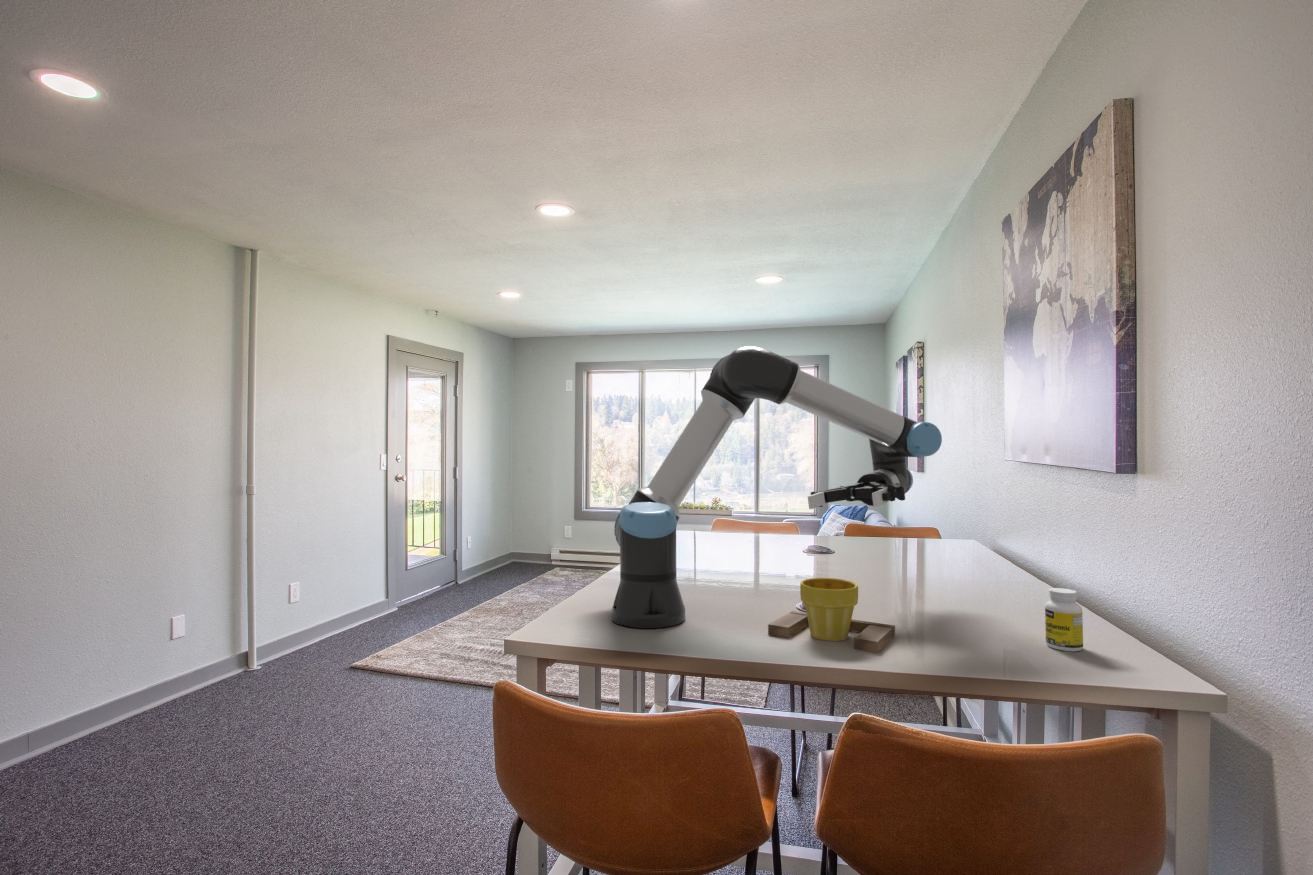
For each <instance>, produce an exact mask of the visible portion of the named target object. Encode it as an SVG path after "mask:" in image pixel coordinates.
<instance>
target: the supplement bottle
mask: <svg viewBox="0 0 1313 875" xmlns="http://www.w3.org/2000/svg"><path fill="white" fill-rule="evenodd" d="M1048 590H1049V595H1048V596H1049V598H1050V600H1049V601H1046V603H1045V605H1044V617H1045V621H1044V622H1045V623H1044V624H1045V644H1046V645H1047V646H1048V647H1049V648H1052V649H1055V650H1057V651H1058V650H1059V651H1063V652H1070V651H1071V652H1072V653H1074V652H1075V651H1076V652H1081V651H1083V649H1084V626H1083V625H1084V623H1083V622H1084V621H1083V608H1082V606H1081V605H1080V604H1078V603H1077V600H1078V593H1077V591H1076V590H1074V589H1069V588H1062V587H1053V588H1052V587H1051V588H1049V589H1048Z"/></svg>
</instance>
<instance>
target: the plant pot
mask: <svg viewBox="0 0 1313 875" xmlns="http://www.w3.org/2000/svg"><path fill="white" fill-rule="evenodd" d="M799 585H800V586H799V587H800V588H799V589H800V592H799V593H800V600H801V602H803V603H804V608H805V613H806V614H807V618H808V623H809V624H808V628H809V633H810V636H811V637H812V638H814V639H817V640H821V641H826V642H840V641H844V640H846V639H847V638H848V637H849V632H850V631H849V628H850V623H851V619H853V615H854V614H853V613H854V609H855V606H856V605H858V602H859V585H858V584H857V583H856V582H853V581H851V580H849V579H848V580H847V579H843V578H842V579H841V578H835V577H812V578H806V579H803V580H801V581H800V584H799Z"/></svg>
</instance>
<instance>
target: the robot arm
mask: <svg viewBox="0 0 1313 875" xmlns="http://www.w3.org/2000/svg"><path fill="white" fill-rule="evenodd" d="M700 394H701V402H700V404H699V406H698V407H697V409H696V410H695V411H694V413H693V415H692V416H691V418H690V420H689V421H688V423H687V424H686V426H685V428H684V429H683V430H682V433H680V435H679V436H678V438H677V440H676V442H675V443H674V444H673V446H672V448H671V449H670V451H669V452H668V454H667V455H666V457H665V459H664V460H663V461H662V463H661V465H660V466H659V468H658V469H657V471H656V473H655V474H654V475H653V477H652V478H651V481H650V482H649V483H648V485H647V486H646V487H642V488H638V489H637V490H636V492H635V493H634V495H633V496H632V498H631V499H630V501H629V502H628V504H625V505H624V506H622V507H621V509H620V512H619V513H618V515H617V517H616V519H615V522H614V536H615V540H616V542H617V544H618V546H619V559H620V560H619V570H620V571H619V573H620V575H619V577H620V579H619V585H618V588H617V591H616V593H615V598H614V601H613V605H612V607H611V621H612V620H613V621H614V622H613V623H615V622H616V623H618V624H617V625H619V624H621V625H620V626H622V625H625V626H624V627H626V626H629V627H628V628H633V627H634V628H635V629H660V628H668V627H673V626H676V625H679V624H681V623H683V622H684V621H685V620H686V606H685V604H684V601H683V597H682V594H681V591H680V590H681V589H680V588H679V584H678V580H677V579H678V578H677V526H678V521H679V519H680V518H681V512H680V506H681V504H682V502H683V501H684V499H685V497H686V496H687V495H688V493H689V491H690V490H691V488H692V487H693V485H694V483H695V482H696V480H697V479H698V477H699V476H700V474H701V472H702V471H703V469H704V468H705V466H706V464H707V463H708V461H709V460H710V458H711V457H712V456H713V453H714V452H715V450H716V449H717V448H718V445H720V442H721V441H722V439H723V438H724V436H725V434H726V433H727V431H728V430H729V428H730V426H731V425H732V423H733V422H734V421H736V420H740V419H744V416H746V414H747V412H748V410H749V409H750V407H751V405H752V404H753V402H754V401H755V400H756V399H761V400H766V401H770V402H772V403H775V404H777V405H780V406H781V405H782V404H785V403H786V404H788V405H791V406H793V407H796V408H797V409H800V410H802V411H805V412H807V413H809V414H812V415H814V416H817V417H819V418H821V419H824V420H826V421H828V422H831V423H833V424H834V425H836V426H839V427H841V428H844V429H846V430H849V431H851V432H853V433H855V434H858V435H860V436H862V437H865V438H867V439H868V440H869V447H870V453H871V455H870V456H871V460H872V471H871V472H868V473H865V474H862V476H860V477H859V478H858V480H857V481H856V483H854V484H851V485H850V484H849V485H845V486H843V485H840V486H837V487H834V488H829V489H822V490H817V491H811V492H810V495H808V496H807V503H808V509H809V510H813V509H816V508H823V506H824V505H826V504H828V503H835V502H842V501H846V502H857V501H858V502H862V503H863V504H865V505H866V506H869V507H873V508H876V507H879V506H881V505H882V506H883V505H886V504H887V503H888V502H894V501H896V500H897V499H898V500H899V501H905V500H906V494H907V493H908V492H909V491H910V490H911V489H912V487H913V484H914V479H913V478H914V477H913V474H912V472H911V470H910V469H908V468H907V461H906V458H918V459H919V458H920V459H921V458H924V457H929V456H933V455H935V454H936V453H937V452H938V451H940V447H941V446H942V442H943V438H942V437H943V435H942V432H941V431H940V429H939V428H938V426H937V425H935V424H934V423H931V422H929V421H921V420H920V421H915V420H913V419H911V418H908V417H906V416H903V415H901V414H899V413H896V412H895V411H892V410H890V409H888V408H886V407H883V406H882V405H879V404H876V403H874V402H872V401H871V400H867V399H865V398H863V397H861V396H860V395H856V394H854V393H852V392H850V391H848V390H845V389H843V388H841V387H838V386H837V385H834V384H832V383H830V382H827V381H826V380H823V379H821V378H819V377H818V376H815V375H812V374H810V373H808V372H805V371H804V370H802V369H801V366H800V364H799V363H798V362H795V361H793V360H790V359H788V358H786V357H784V356H782V355H779V354H778V353H774V352H773V351H771V350H768V349H765V348H762V347H758V346H754V345H746V346H742V347H739V348H736V349H735V350H733V351H732V352H731V353H729V354H728V355H726V356H723V357H722V358H720V359H719V360H718V361H717V362H716V363H715V365H714V366H713V368H712V369H711V372H710V375H709V378H708V380H707V381H706V383H705V385H704V386H703V388H702V389H701V390H700ZM616 623H615V624H616Z"/></svg>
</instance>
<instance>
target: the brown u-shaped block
mask: <svg viewBox="0 0 1313 875" xmlns="http://www.w3.org/2000/svg"><path fill="white" fill-rule="evenodd" d="M807 626H809V623H808V618H807V614H806V612H805V611H797V610H796V611H795V610H791V611H790V612H788V613H786V614H784V615H783V616H780V617H779V618H777V619H776V620H773V621H772V622H770V623H768V624H767V630H768V631H767V633H768V635H772V636H779V637H784V638H790V637H791V636H793V635H795V634H796V633H797V632H799V631H801V630H802V629H803V630H804V628H806V627H807ZM849 632H856V633H858V634H857V635H855V637H853V649H854V650H860V651H866V652H872V653H879V652H880V651H881V650H882V649H884V647H885V646H886V645H887V644H888V643H890V641H891V640H892V639H893V638H894V637H895V636H896V625H894V624H888V623H887V624H886V623H881V622H874V621H873V622H872V621H866V620H860V619H859V620H858V619H854V618H852V619H851V623H850V628H849Z"/></svg>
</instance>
